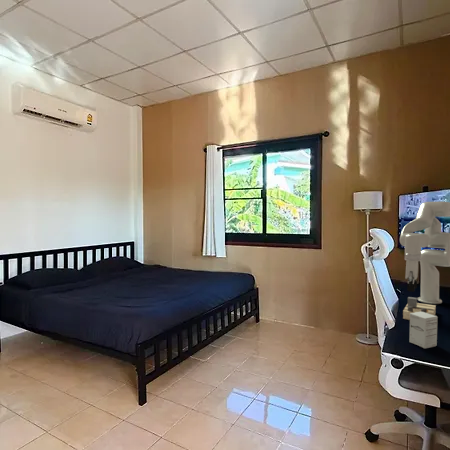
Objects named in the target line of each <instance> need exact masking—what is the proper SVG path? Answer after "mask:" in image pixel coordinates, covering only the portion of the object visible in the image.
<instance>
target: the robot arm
mask: <svg viewBox="0 0 450 450" xmlns="http://www.w3.org/2000/svg"><path fill="white" fill-rule="evenodd" d="M437 217H439V218H441V217H443V218H445V217H446V218H447V217H450V201H424V202H422V203H421V204H420V206H419V208H418V211H417V214H416V216H415V219H413V220H412V221H410V222H408V223H407V224H405V225H404V227H402V230H401V233H400V236H399V243H400V245H401V246H402V247H404V261H406V262H405V265H406V266H405V276H404V277H405V280H407V288H406V289H407V290H406V291H407V292H412V293H414V292H415V290H416V289H417V288H418V285H417V284H418V280H417V279H418V277H419V275H418V274H419V264H420V296H419V297H417V302H418V301H419V302H421V303H423V304H430V305H439V304H442V303H443V300H442V299H441V298H440V271H439V270H438V269H437V267H436V266H438V267H449V268H450V232H447V231H445V232H442V227H443V226H442V223H441V221H439V219H438V218H437ZM423 230H424V233H415V232H418V231H423ZM422 248H426V249H422ZM432 248H433V249H432ZM434 248H435V249H434Z"/></svg>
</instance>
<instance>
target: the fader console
mask: <svg viewBox="0 0 450 450" xmlns="http://www.w3.org/2000/svg"><path fill="white" fill-rule="evenodd" d="M436 306H437V304H429V303H422V302H421V303H419V302H417V307H410V306H408V302H407V304H406V305H405V307H404V308H403V310H402V319H404V320H408V321H410V313H415V312H421V311H422V312H425V313H428V314H431V315H434V316H436V309H437V307H436Z"/></svg>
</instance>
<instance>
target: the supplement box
mask: <svg viewBox="0 0 450 450" xmlns="http://www.w3.org/2000/svg"><path fill="white" fill-rule="evenodd" d="M408 337H409V339H408V340H409V343H411V344H414V345H417V346H419V347H420V348H423V349H429V348H434V347H436V346H437V343H438V341H437V340H438V316H437V315H435V316H434V315H431V314H428V313H425V312H422V311H421V312H415V313H410V320H409V336H408Z"/></svg>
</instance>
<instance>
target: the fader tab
mask: <svg viewBox="0 0 450 450" xmlns="http://www.w3.org/2000/svg"><path fill="white" fill-rule="evenodd" d="M407 303H408V306H410V307H417V303H418V297H412V296H408V297H407Z"/></svg>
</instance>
